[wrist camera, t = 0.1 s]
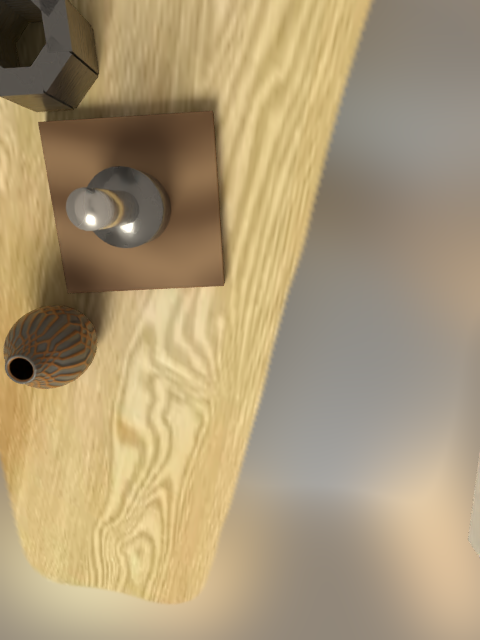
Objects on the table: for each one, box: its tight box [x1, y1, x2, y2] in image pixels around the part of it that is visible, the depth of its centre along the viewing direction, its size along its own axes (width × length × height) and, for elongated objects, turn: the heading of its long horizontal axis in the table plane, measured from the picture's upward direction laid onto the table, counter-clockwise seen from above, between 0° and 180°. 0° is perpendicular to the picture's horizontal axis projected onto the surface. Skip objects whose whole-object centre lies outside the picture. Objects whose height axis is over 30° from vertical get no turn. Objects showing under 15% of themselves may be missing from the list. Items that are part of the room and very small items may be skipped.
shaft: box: [66, 166, 171, 248], centre depth 29 cm, size 6×6×10 cm
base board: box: [38, 111, 225, 293], centre depth 35 cm, size 14×14×1 cm
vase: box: [4, 305, 97, 389], centre depth 34 cm, size 7×7×9 cm
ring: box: [0, 0, 99, 112], centre depth 30 cm, size 8×8×5 cm
